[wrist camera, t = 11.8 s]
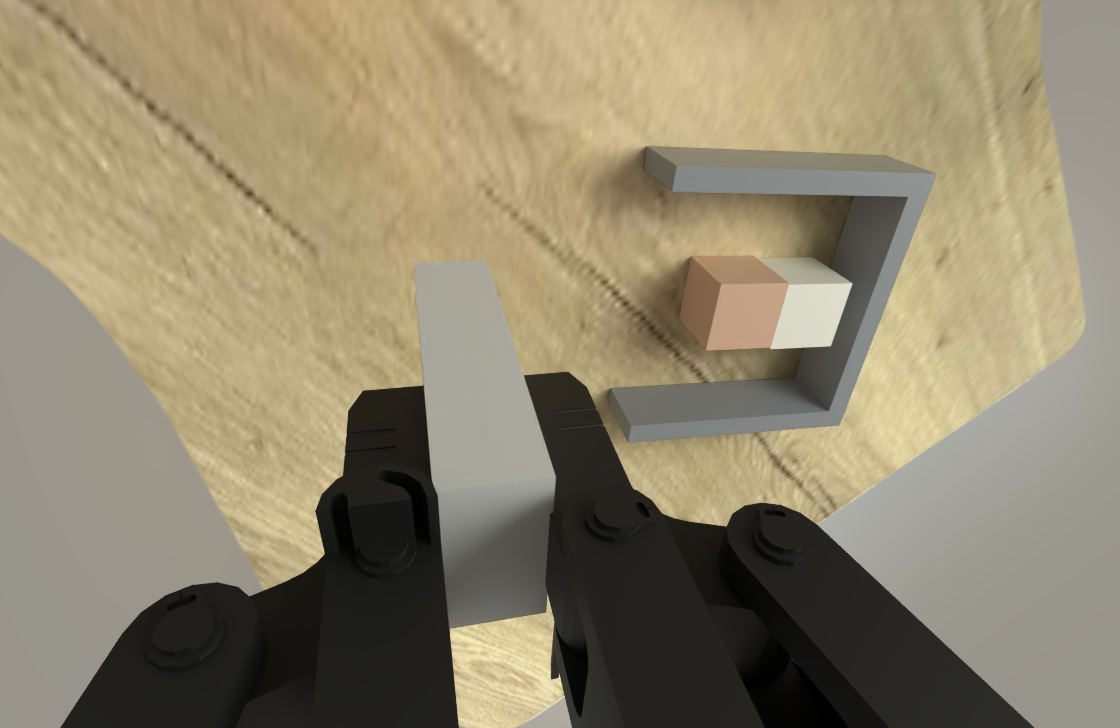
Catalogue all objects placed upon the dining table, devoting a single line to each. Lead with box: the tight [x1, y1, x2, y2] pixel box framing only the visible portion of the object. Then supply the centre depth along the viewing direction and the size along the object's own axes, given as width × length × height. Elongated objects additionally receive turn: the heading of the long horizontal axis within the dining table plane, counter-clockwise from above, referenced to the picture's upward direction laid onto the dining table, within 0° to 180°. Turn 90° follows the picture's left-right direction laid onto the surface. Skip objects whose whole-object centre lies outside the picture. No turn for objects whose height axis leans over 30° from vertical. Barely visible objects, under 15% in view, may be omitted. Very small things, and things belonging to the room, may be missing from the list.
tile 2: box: [757, 257, 853, 349], centre depth 46 cm, size 5×5×5 cm
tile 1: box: [679, 256, 789, 351], centre depth 45 cm, size 5×5×5 cm
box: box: [609, 146, 936, 443], centre depth 45 cm, size 20×18×5 cm
